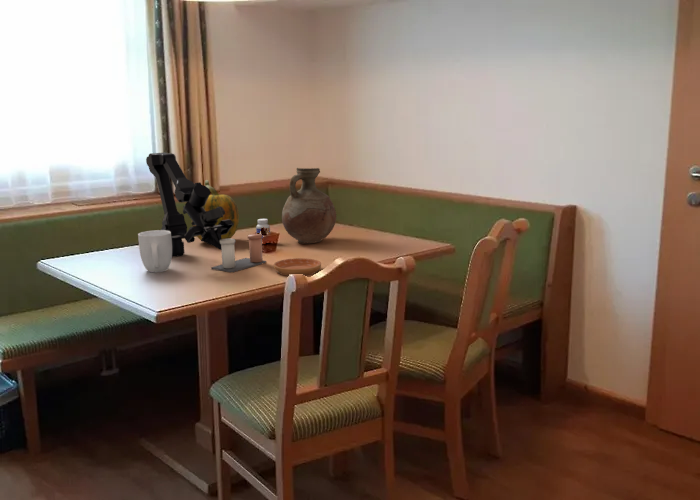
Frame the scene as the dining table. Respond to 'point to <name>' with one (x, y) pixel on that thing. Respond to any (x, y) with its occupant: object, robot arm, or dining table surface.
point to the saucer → (297, 266)
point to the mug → (155, 249)
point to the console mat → (238, 265)
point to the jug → (308, 209)
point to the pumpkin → (226, 204)
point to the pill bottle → (262, 225)
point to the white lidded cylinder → (228, 253)
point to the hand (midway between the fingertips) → (222, 249)
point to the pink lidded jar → (255, 247)
